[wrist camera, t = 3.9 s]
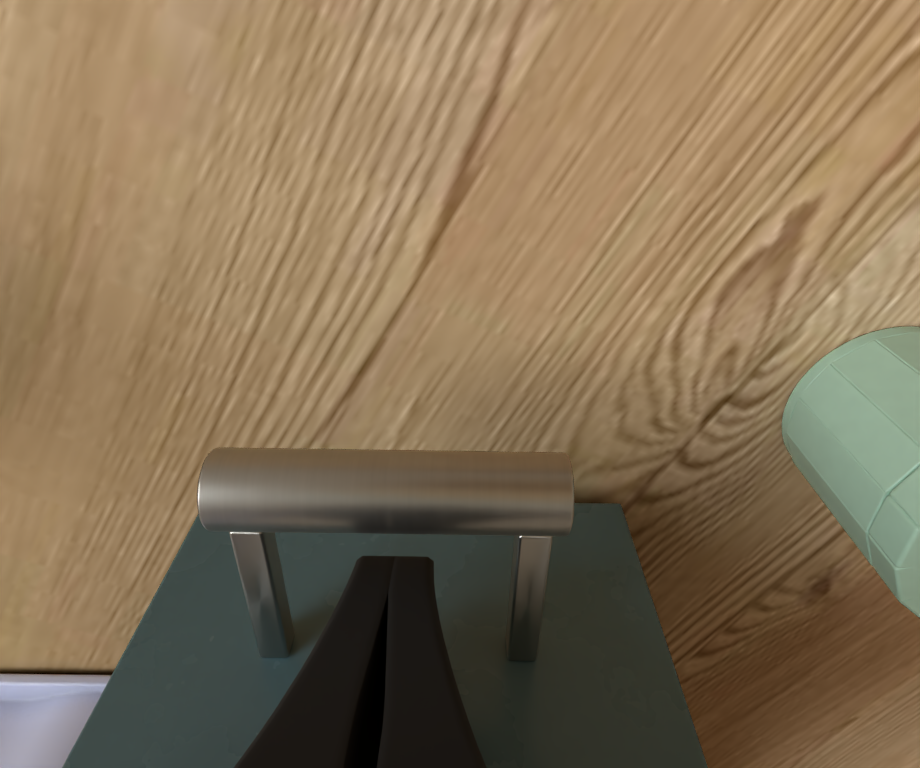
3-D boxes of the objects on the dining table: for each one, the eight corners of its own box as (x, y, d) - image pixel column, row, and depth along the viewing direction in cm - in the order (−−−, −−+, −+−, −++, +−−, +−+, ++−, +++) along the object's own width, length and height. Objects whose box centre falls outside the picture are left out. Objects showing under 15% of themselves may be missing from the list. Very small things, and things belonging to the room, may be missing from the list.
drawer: (163, 332, 14) (-83, 586, 7) (654, 340, 14) (811, 599, 8) (276, 761, 23) (208, 1031, 17) (567, 765, 23) (606, 1034, 17)
